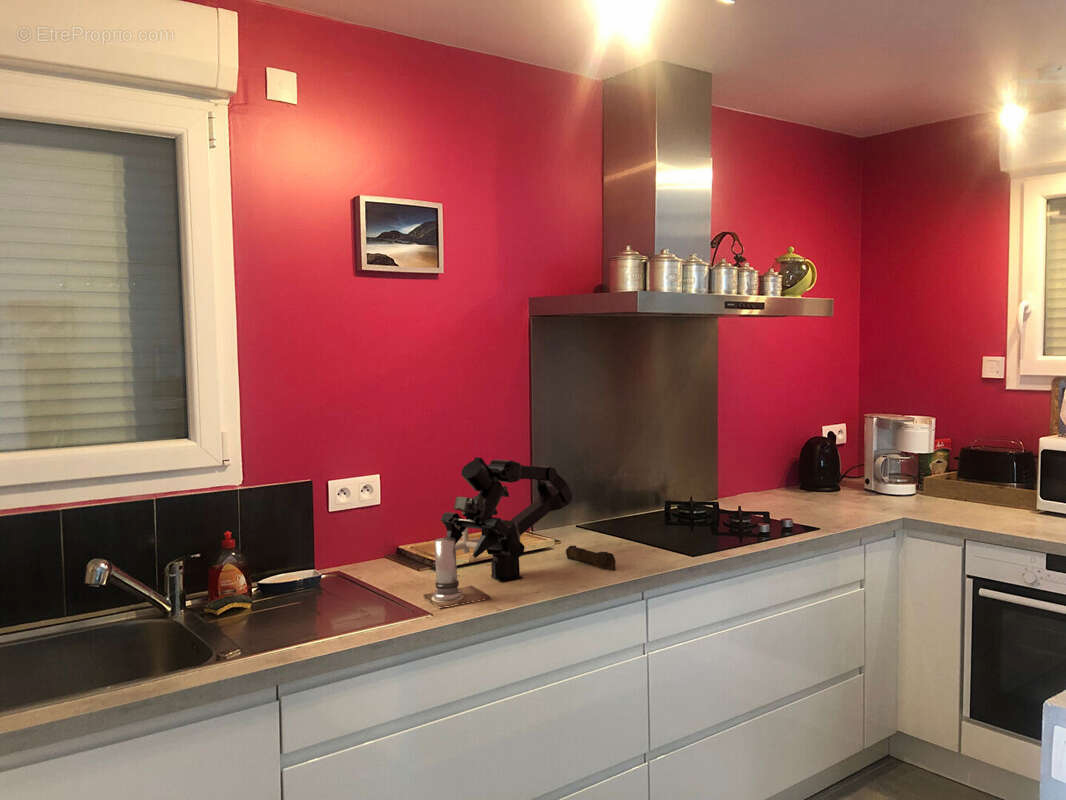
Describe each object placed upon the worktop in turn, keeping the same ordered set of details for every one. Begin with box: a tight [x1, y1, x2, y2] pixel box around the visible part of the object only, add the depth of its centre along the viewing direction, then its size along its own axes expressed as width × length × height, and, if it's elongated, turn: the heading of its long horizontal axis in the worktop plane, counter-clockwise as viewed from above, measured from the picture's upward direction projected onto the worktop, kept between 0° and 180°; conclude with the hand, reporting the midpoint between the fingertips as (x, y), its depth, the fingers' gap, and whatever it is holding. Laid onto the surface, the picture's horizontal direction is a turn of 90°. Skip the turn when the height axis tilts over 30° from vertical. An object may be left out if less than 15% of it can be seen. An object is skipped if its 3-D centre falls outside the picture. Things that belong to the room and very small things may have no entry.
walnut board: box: [422, 585, 491, 607], centre depth 209 cm, size 13×11×1 cm
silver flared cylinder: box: [432, 537, 462, 601], centre depth 207 cm, size 7×7×14 cm
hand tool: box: [565, 545, 617, 571], centre depth 235 cm, size 19×4×5 cm, turn 33°
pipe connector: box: [455, 528, 480, 554], centre depth 243 cm, size 10×10×10 cm
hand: (460, 554), depth 211 cm, fingers open, 9 cm apart
